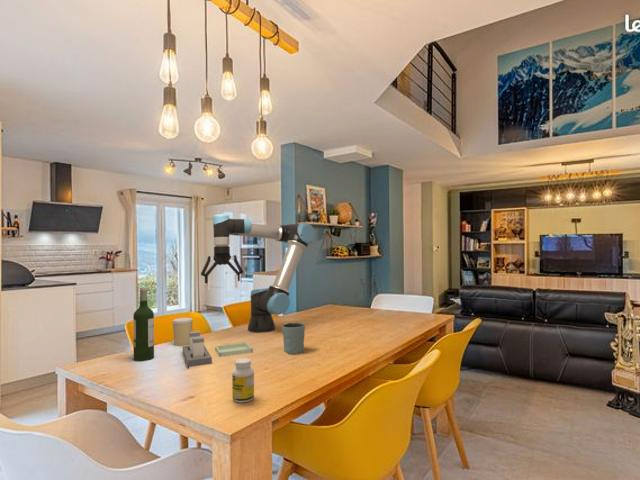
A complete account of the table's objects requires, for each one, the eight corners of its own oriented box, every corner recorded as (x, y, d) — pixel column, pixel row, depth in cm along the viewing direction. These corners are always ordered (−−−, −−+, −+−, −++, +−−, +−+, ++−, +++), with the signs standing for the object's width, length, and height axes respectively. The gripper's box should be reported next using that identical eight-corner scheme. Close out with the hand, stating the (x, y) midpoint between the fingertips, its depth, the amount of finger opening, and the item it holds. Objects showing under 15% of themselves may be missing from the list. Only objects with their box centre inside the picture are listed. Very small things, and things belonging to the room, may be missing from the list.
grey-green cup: (301, 348, 170) (301, 321, 171) (308, 353, 161) (307, 325, 161) (280, 350, 167) (279, 323, 167) (285, 356, 158) (285, 327, 158)
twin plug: (198, 353, 164) (198, 330, 165) (200, 355, 161) (199, 332, 161) (189, 354, 163) (189, 331, 163) (190, 357, 159) (190, 333, 159)
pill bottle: (229, 397, 114) (229, 359, 115) (249, 393, 118) (249, 356, 118) (236, 405, 109) (236, 365, 109) (257, 400, 112) (257, 361, 113)
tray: (246, 347, 173) (246, 342, 173) (252, 353, 162) (252, 348, 162) (215, 351, 167) (215, 346, 167) (219, 358, 156) (219, 352, 156)
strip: (203, 350, 169) (203, 342, 169) (211, 365, 147) (211, 355, 147) (182, 353, 165) (182, 344, 165) (187, 368, 143) (187, 359, 144)
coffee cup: (196, 341, 186) (196, 317, 186) (187, 346, 176) (187, 321, 176) (178, 341, 186) (178, 317, 187) (168, 346, 177) (168, 321, 177)
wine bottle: (135, 357, 160) (134, 287, 161) (155, 355, 163) (154, 286, 164) (131, 362, 153) (131, 289, 154) (152, 360, 155) (152, 288, 156)
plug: (202, 360, 153) (202, 336, 154) (204, 363, 150) (203, 338, 150) (192, 362, 152) (192, 337, 152) (193, 364, 148) (193, 339, 148)
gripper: (244, 245, 192) (245, 286, 191) (194, 246, 181) (195, 290, 181) (248, 245, 185) (249, 287, 185) (196, 246, 174) (197, 291, 174)
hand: (222, 289), depth 183 cm, fingers open, 13 cm apart
